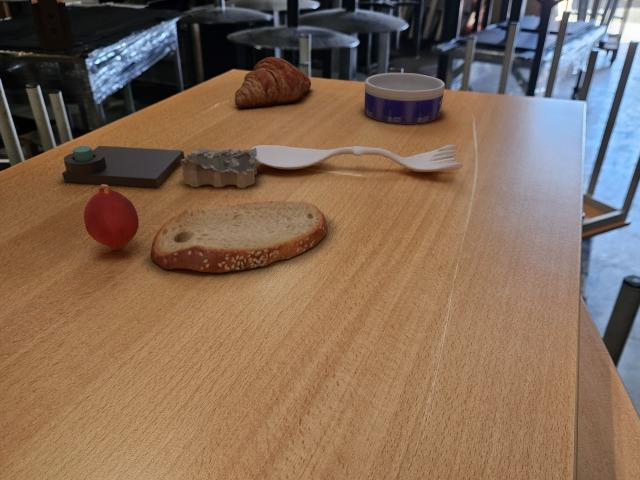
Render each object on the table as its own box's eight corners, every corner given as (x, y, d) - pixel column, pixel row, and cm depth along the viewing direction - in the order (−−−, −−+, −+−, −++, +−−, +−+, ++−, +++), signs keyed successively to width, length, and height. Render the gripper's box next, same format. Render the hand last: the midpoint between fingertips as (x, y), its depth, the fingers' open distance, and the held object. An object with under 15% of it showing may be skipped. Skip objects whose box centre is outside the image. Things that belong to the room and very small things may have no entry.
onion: (91, 241, 68) (74, 177, 64) (140, 234, 70) (128, 171, 65) (93, 264, 64) (76, 197, 59) (146, 256, 66) (133, 190, 61)
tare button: (71, 162, 82) (69, 151, 81) (80, 155, 84) (77, 145, 83) (88, 163, 82) (86, 152, 81) (97, 156, 84) (94, 146, 83)
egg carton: (179, 187, 82) (175, 159, 80) (192, 168, 88) (188, 142, 86) (253, 189, 81) (251, 161, 79) (261, 170, 88) (259, 143, 85)
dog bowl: (374, 99, 121) (376, 69, 118) (446, 107, 118) (450, 75, 114) (354, 119, 110) (356, 86, 106) (434, 128, 106) (438, 94, 102)
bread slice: (335, 220, 74) (336, 193, 72) (288, 292, 60) (287, 260, 58) (208, 202, 78) (205, 176, 76) (136, 265, 64) (130, 235, 62)
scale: (61, 182, 83) (56, 162, 81) (99, 154, 93) (95, 135, 91) (156, 188, 81) (153, 168, 80) (184, 159, 91) (182, 140, 89)
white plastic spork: (460, 184, 84) (464, 161, 82) (245, 175, 86) (244, 153, 84) (454, 163, 91) (457, 141, 89) (256, 155, 93) (254, 133, 91)
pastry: (310, 110, 114) (310, 67, 110) (233, 109, 114) (230, 66, 109) (311, 89, 128) (311, 50, 123) (242, 88, 128) (239, 49, 123)
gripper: (-38, -166, 56) (15, 29, 66) (-51, -187, 43) (17, 58, 53) (45, -161, 58) (84, 25, 69) (55, -180, 46) (101, 53, 56)
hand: (55, 39), depth 61 cm, fingers open, 9 cm apart
